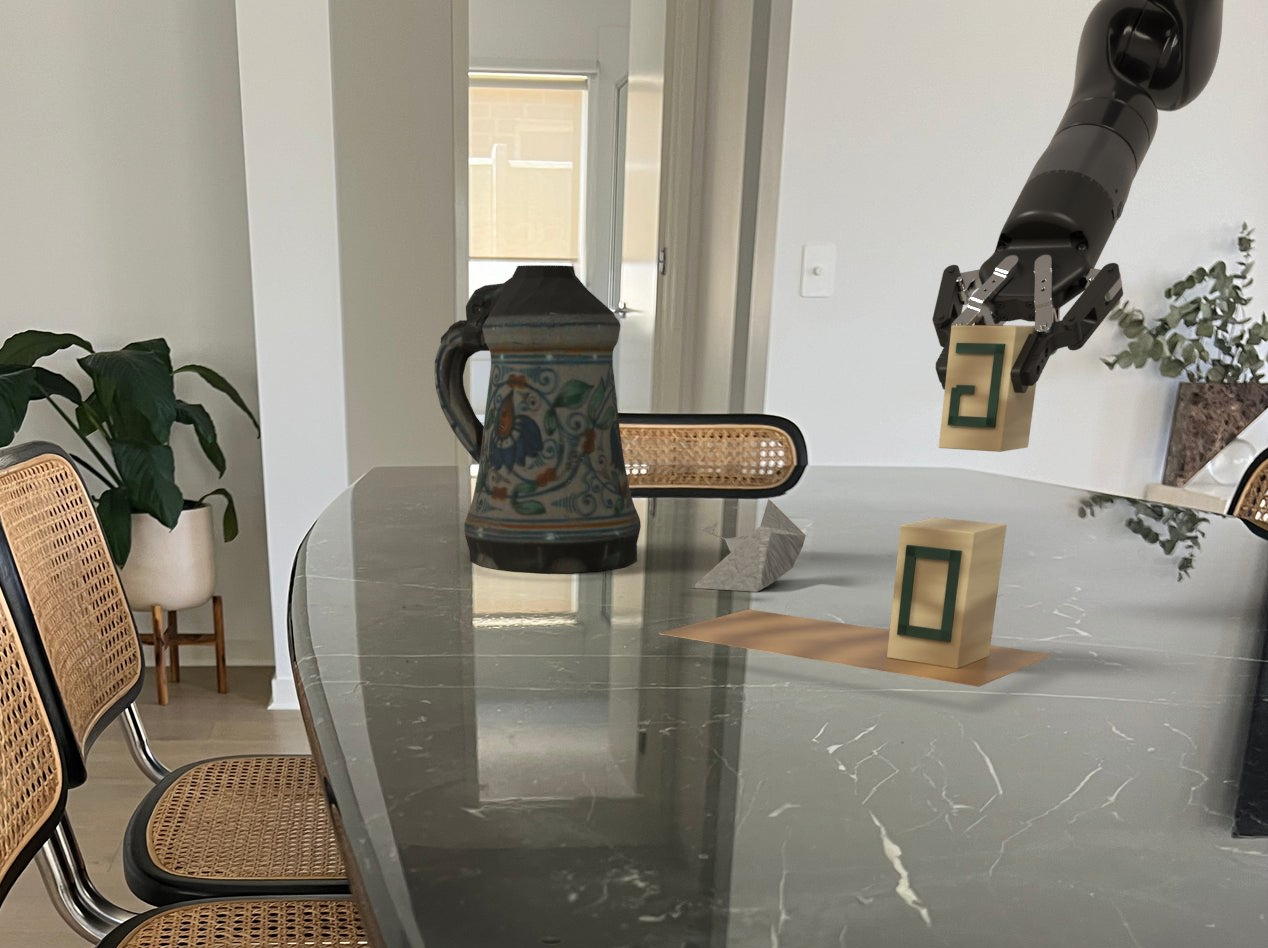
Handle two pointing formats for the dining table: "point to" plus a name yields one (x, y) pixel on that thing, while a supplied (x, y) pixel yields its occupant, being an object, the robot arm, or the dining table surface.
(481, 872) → the dining table surface
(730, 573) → the paper boat
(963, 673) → the word mat
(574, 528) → the beer stein
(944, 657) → the letter O
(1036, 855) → the dining table surface
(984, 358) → the letter G
